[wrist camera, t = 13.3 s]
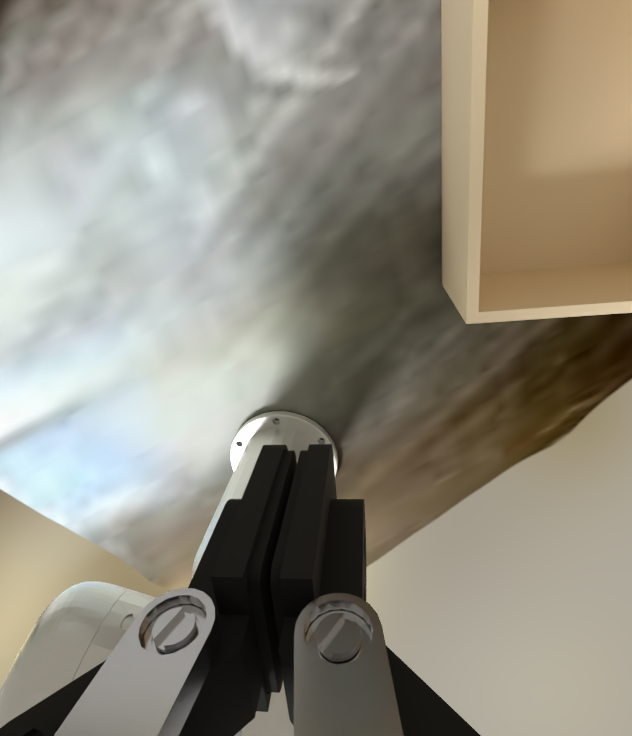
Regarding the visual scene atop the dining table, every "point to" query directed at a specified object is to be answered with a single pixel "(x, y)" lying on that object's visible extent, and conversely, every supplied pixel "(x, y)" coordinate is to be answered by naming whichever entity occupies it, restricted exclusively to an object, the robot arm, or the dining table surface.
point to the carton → (536, 158)
